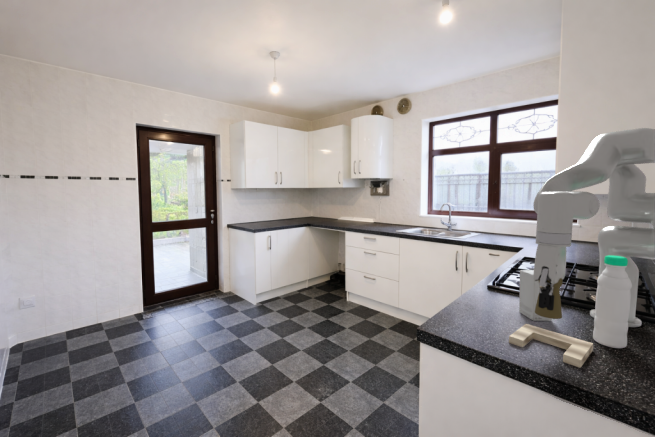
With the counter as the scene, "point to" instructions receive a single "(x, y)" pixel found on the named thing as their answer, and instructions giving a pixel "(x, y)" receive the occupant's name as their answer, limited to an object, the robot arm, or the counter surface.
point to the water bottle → (612, 303)
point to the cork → (557, 311)
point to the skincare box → (529, 296)
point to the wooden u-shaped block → (554, 343)
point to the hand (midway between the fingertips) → (548, 306)
